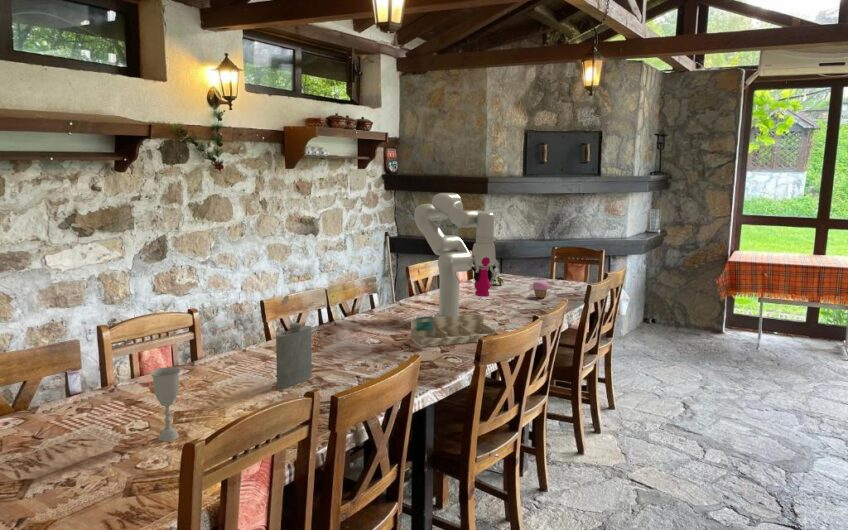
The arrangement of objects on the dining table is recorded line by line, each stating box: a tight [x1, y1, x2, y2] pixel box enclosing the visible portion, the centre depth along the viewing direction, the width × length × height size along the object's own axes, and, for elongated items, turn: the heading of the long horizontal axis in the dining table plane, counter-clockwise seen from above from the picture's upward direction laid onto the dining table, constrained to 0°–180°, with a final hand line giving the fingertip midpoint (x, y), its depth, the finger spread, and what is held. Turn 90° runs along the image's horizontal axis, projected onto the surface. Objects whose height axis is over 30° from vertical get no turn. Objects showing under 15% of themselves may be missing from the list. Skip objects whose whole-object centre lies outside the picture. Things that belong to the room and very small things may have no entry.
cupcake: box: [532, 279, 550, 299], centre depth 357 cm, size 9×9×10 cm
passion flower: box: [490, 268, 505, 286], centre depth 395 cm, size 11×11×12 cm
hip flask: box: [275, 322, 313, 390], centre depth 210 cm, size 16×4×20 cm, turn 151°
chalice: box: [150, 366, 181, 442], centre depth 166 cm, size 7×7×18 cm
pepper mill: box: [474, 257, 492, 298], centre depth 282 cm, size 7×7×20 cm
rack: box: [410, 313, 496, 348], centre depth 265 cm, size 33×12×9 cm, turn 111°
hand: (482, 280), depth 282 cm, fingers closed on pepper mill, 5 cm apart
